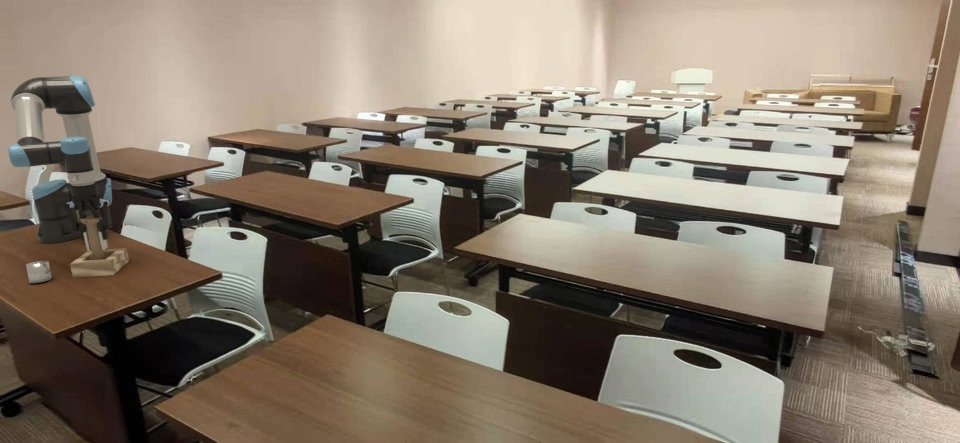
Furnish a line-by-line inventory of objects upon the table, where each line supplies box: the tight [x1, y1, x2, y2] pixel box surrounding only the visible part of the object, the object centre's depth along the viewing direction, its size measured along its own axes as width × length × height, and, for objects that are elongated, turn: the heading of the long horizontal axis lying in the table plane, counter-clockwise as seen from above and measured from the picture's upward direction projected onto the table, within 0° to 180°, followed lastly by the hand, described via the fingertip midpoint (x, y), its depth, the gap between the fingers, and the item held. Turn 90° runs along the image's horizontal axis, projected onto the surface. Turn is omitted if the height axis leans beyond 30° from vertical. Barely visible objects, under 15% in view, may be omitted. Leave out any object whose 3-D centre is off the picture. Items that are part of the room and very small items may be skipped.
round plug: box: [25, 260, 53, 284], centre depth 189 cm, size 6×6×6 cm
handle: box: [80, 215, 105, 260], centre depth 197 cm, size 5×6×15 cm
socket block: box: [69, 247, 130, 279], centre depth 199 cm, size 14×12×5 cm
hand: (97, 248), depth 198 cm, fingers closed on handle, 4 cm apart
